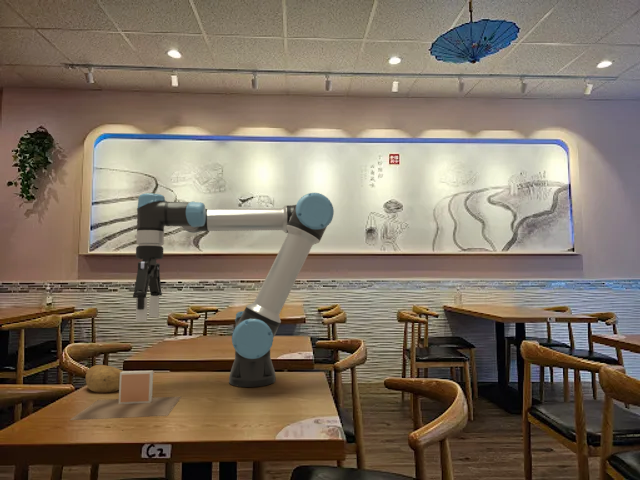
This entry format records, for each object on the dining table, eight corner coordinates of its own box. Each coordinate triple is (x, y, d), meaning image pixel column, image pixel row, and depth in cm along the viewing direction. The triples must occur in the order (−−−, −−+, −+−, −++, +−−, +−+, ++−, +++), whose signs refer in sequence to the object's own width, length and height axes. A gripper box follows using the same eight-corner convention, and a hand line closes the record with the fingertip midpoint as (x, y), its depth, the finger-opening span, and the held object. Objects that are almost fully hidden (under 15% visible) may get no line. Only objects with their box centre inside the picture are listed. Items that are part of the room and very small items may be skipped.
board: (181, 400, 113) (181, 396, 113) (167, 420, 97) (167, 415, 97) (97, 404, 110) (97, 399, 110) (69, 425, 94) (69, 419, 94)
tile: (151, 401, 109) (153, 370, 110) (150, 402, 107) (151, 371, 108) (120, 402, 108) (121, 371, 109) (118, 404, 106) (119, 372, 107)
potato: (102, 401, 113) (103, 372, 114) (76, 394, 120) (77, 366, 121) (134, 393, 121) (135, 365, 122) (108, 386, 128) (109, 361, 129)
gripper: (148, 248, 132) (146, 315, 130) (122, 242, 108) (119, 324, 106) (172, 248, 133) (170, 315, 131) (151, 242, 109) (149, 323, 107)
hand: (147, 319), depth 119 cm, fingers open, 12 cm apart
